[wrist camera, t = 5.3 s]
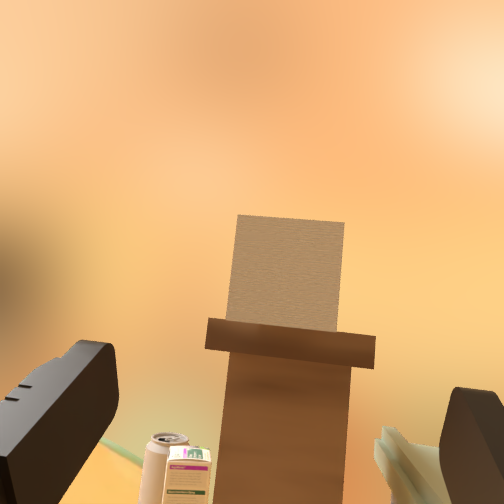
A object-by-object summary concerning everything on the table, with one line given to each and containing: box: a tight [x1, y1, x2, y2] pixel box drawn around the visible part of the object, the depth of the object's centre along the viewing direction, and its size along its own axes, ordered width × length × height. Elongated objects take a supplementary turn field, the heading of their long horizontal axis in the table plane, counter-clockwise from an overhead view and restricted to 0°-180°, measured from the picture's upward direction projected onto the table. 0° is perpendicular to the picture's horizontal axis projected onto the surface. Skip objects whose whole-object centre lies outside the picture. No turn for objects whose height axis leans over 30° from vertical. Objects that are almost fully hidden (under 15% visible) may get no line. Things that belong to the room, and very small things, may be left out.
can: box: [138, 432, 190, 504], centre depth 69 cm, size 8×8×12 cm
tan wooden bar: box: [226, 215, 344, 332], centre depth 23 cm, size 24×3×3 cm, turn 173°
